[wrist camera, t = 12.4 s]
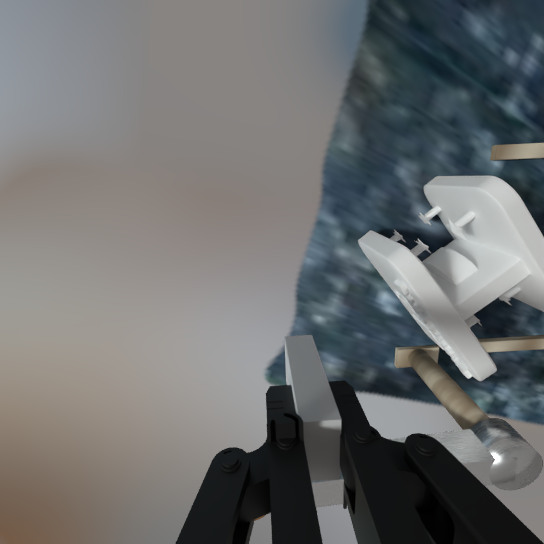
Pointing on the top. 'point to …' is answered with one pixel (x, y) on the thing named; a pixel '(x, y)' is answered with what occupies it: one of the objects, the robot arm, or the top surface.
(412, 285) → the cable organizer
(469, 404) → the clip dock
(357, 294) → the top surface
